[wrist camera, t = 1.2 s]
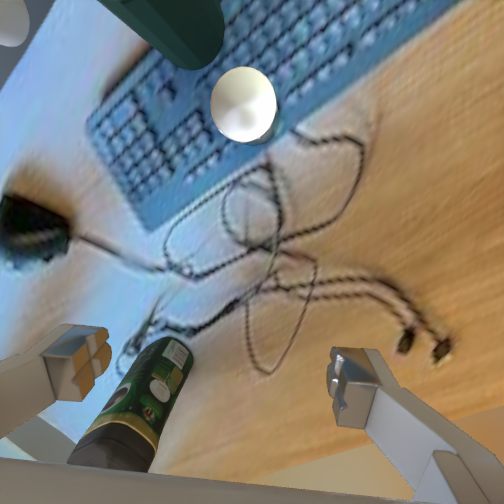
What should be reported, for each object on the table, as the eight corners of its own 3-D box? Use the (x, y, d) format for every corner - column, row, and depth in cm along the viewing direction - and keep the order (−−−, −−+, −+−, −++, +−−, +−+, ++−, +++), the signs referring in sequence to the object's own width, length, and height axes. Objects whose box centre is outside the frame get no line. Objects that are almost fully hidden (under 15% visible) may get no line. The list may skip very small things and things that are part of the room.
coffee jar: (165, 382, 47) (96, 515, 29) (134, 353, 45) (42, 477, 28) (203, 360, 44) (152, 494, 26) (171, 328, 42) (95, 449, 25)
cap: (273, 85, 28) (270, 57, 20) (281, 139, 30) (281, 134, 22) (225, 98, 29) (202, 76, 21) (236, 150, 31) (219, 148, 23)
